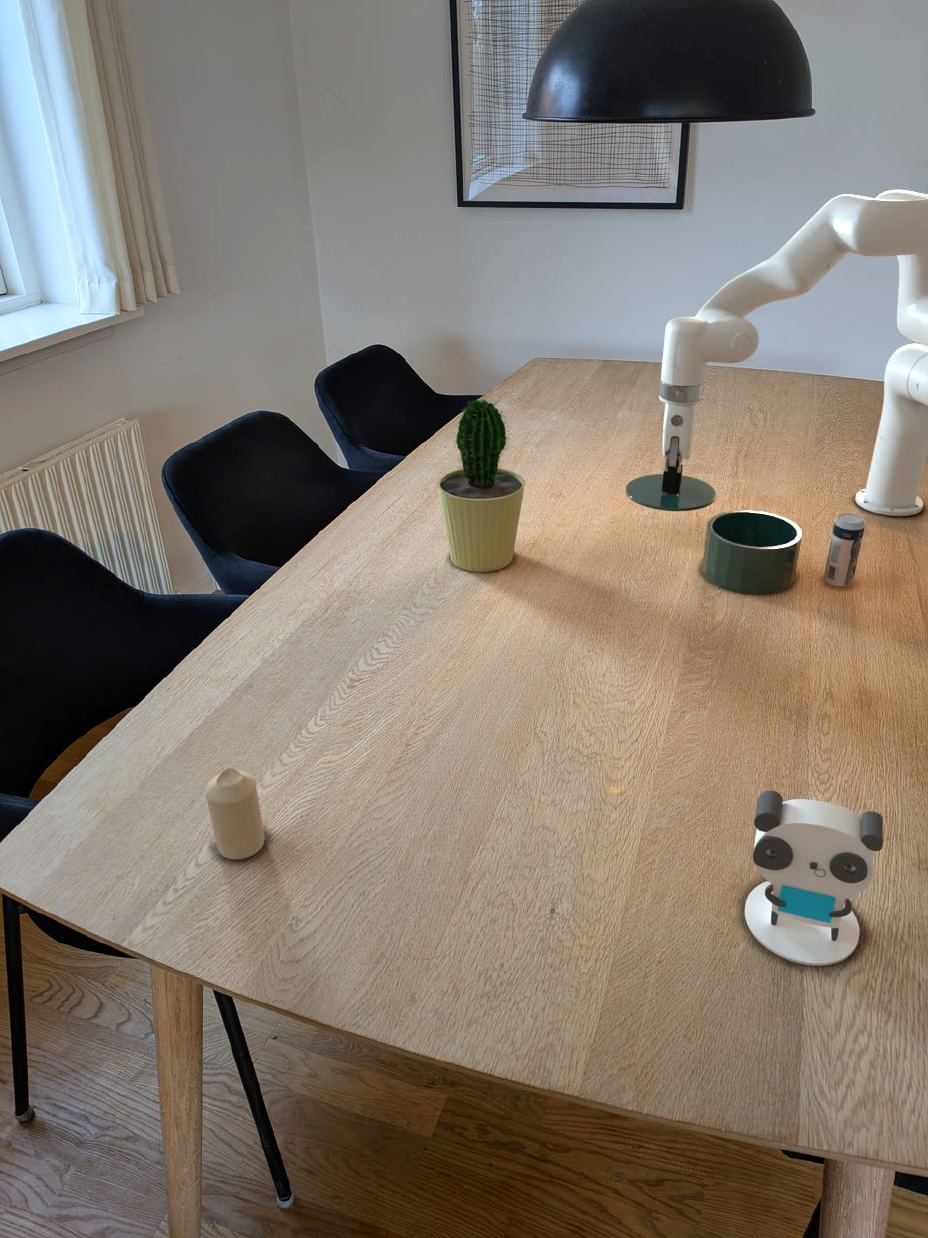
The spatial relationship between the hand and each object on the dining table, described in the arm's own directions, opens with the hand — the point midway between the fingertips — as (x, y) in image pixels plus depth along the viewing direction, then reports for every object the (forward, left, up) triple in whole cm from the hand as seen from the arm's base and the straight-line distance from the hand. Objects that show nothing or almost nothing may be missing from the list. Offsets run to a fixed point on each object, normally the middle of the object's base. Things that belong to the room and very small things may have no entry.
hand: (671, 487), depth 175 cm
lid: (0, 0, -1) cm, 1 cm away
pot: (+13, +15, -9) cm, 22 cm away
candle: (+96, -41, -10) cm, 105 cm away
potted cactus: (+18, -32, -10) cm, 38 cm away
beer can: (+13, +30, -10) cm, 34 cm away
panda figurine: (+92, +21, -10) cm, 95 cm away
